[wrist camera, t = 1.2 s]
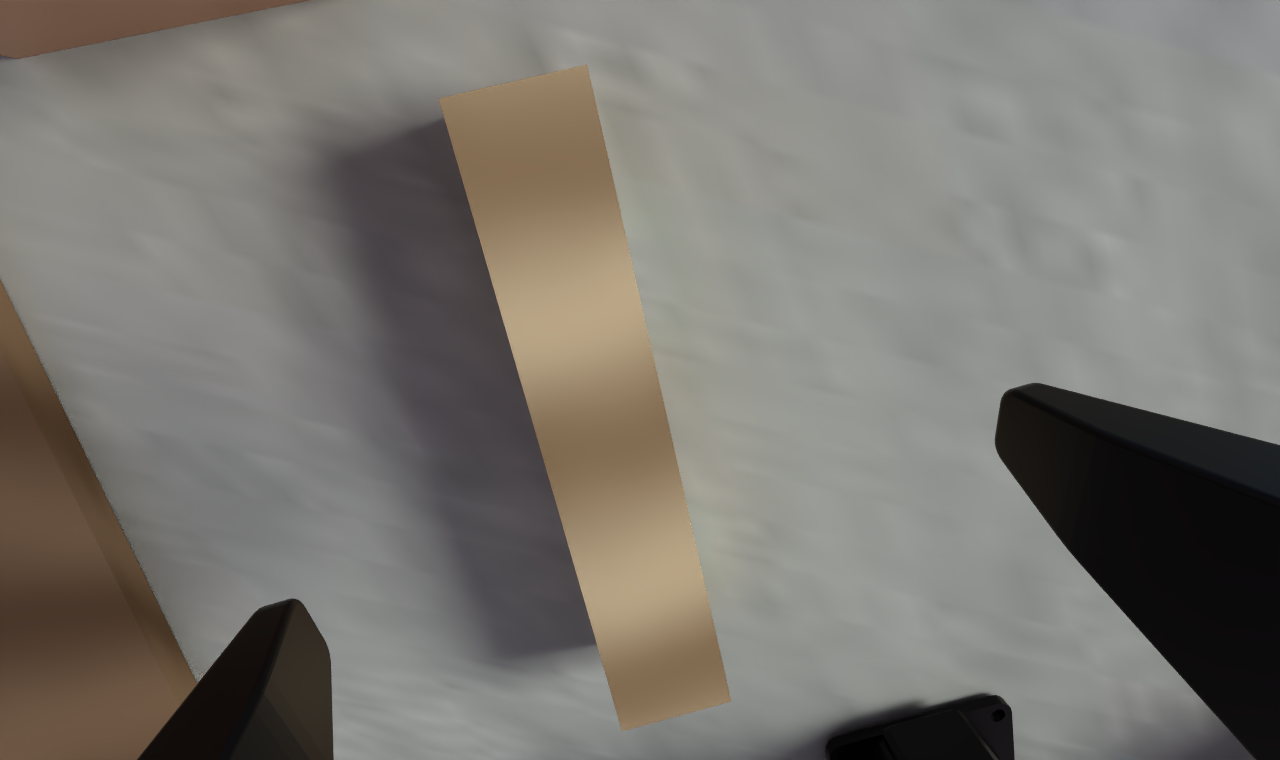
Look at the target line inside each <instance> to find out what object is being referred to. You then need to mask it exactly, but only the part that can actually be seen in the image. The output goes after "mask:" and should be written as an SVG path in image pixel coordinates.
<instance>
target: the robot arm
mask: <svg viewBox="0 0 1280 760" xmlns="http://www.w3.org/2000/svg"><path fill="white" fill-rule="evenodd" d="M995 446H996V450H997V453H998V455H999V457H1000V458H1001V460H1002V461H1003V463H1004V464H1005V465H1006V467H1007V468H1008V470H1009V471H1010V472H1011V474H1012V475H1013V476H1014V478H1015V479H1016V480H1017V482H1018V483H1019V485H1020V486H1021V487H1022V489H1023V490H1024V491H1025V493H1026V494H1027V495H1028V497H1029V498H1030V500H1031V501H1032V502H1033V504H1034V505H1035V506H1036V508H1037V509H1038V510H1039V512H1040V513H1041V515H1042V516H1043V517H1044V519H1045V520H1046V521H1047V523H1048V524H1049V525H1050V527H1051V528H1052V530H1053V531H1054V532H1055V534H1056V535H1057V536H1058V537H1059V539H1060V540H1061V541H1062V543H1063V544H1064V545H1065V546H1066V548H1067V549H1068V550H1069V551H1070V553H1071V554H1072V555H1073V556H1074V557H1075V558H1076V560H1077V561H1078V562H1079V563H1080V564H1081V565H1082V567H1083V568H1084V569H1085V570H1086V571H1087V572H1088V573H1089V574H1090V575H1091V577H1092V578H1093V579H1094V580H1095V581H1096V582H1097V583H1098V584H1099V586H1100V587H1101V588H1102V589H1103V590H1104V591H1105V592H1106V593H1107V594H1108V596H1109V597H1110V598H1111V599H1112V600H1113V601H1114V602H1115V603H1116V604H1117V606H1118V607H1119V608H1120V609H1121V610H1122V611H1123V612H1124V613H1125V614H1126V616H1127V617H1128V618H1129V619H1130V620H1131V621H1132V622H1133V623H1134V625H1135V626H1136V627H1137V628H1138V629H1139V630H1140V631H1141V632H1142V633H1143V635H1144V636H1145V637H1146V638H1147V639H1148V640H1149V641H1150V642H1151V643H1152V645H1153V646H1154V647H1155V648H1156V649H1157V650H1158V651H1159V652H1160V653H1161V655H1162V656H1163V657H1164V658H1165V659H1166V660H1167V661H1168V662H1169V664H1170V665H1171V666H1172V667H1173V668H1174V669H1175V670H1176V671H1177V672H1178V674H1179V675H1180V676H1181V677H1182V678H1183V679H1184V680H1185V681H1186V682H1187V684H1188V685H1189V686H1190V687H1191V688H1192V689H1193V690H1194V691H1195V692H1196V694H1197V695H1198V696H1199V697H1200V698H1201V699H1202V700H1203V701H1204V703H1205V704H1206V705H1207V706H1208V707H1209V708H1210V709H1211V710H1212V711H1213V713H1214V714H1215V715H1216V716H1217V717H1218V718H1219V719H1220V720H1221V721H1222V723H1223V724H1224V725H1225V726H1226V727H1227V728H1228V729H1229V730H1230V731H1231V733H1232V734H1233V735H1234V736H1235V737H1236V738H1237V739H1238V740H1239V742H1240V743H1241V744H1242V745H1243V746H1244V747H1245V748H1246V749H1247V750H1248V752H1249V753H1250V754H1251V755H1252V756H1253V757H1254V758H1255V759H1256V760H1280V445H1277V444H1273V443H1269V442H1265V441H1262V440H1258V439H1254V438H1250V437H1246V436H1242V435H1238V434H1234V433H1231V432H1227V431H1223V430H1219V429H1215V428H1211V427H1207V426H1203V425H1200V424H1196V423H1192V422H1188V421H1184V420H1180V419H1176V418H1172V417H1169V416H1165V415H1161V414H1157V413H1153V412H1149V411H1145V410H1141V409H1138V408H1134V407H1130V406H1126V405H1122V404H1118V403H1114V402H1111V401H1107V400H1103V399H1099V398H1095V397H1091V396H1087V395H1083V394H1080V393H1076V392H1072V391H1068V390H1064V389H1060V388H1056V387H1052V386H1049V385H1045V384H1041V383H1030V384H1026V385H1023V386H1019V387H1016V388H1013V389H1010V390H1008V391H1006V392H1005V393H1004V395H1003V396H1002V398H1001V402H1000V408H999V415H998V421H997V428H996V434H995ZM994 711H995V712H994ZM841 751H844V752H842V753H839V752H841ZM825 753H826V759H827V760H1014V742H1013V723H1012V711H1011V708H1010V706H1009V705H1008V704H1007V703H1006V702H1005V701H1004V699H1003V698H1001V697H1000V696H997V695H992V696H987V697H983V698H980V699H976V700H972V701H968V702H964V703H961V704H957V705H953V706H949V707H946V708H942V709H938V710H934V711H930V712H927V713H923V714H919V715H915V716H911V717H908V718H904V719H900V720H896V721H893V722H889V723H885V724H881V725H877V726H874V727H870V728H866V729H862V730H858V731H855V732H851V733H847V734H843V735H840V736H836V737H834V738H832V739H831V740H830V741H829V742H828V743H827V745H826V747H825ZM137 760H334V758H333V721H332V684H331V659H330V653H329V649H328V647H327V644H326V642H325V640H324V638H323V637H322V635H321V633H320V631H319V630H318V628H317V626H316V625H315V623H314V621H313V620H312V618H311V616H310V614H309V613H308V611H307V609H306V608H305V606H304V605H303V603H302V602H301V601H299V600H298V599H287V600H284V601H281V602H277V603H274V604H270V605H267V606H264V607H262V608H259V609H258V610H257V611H256V612H255V613H254V614H253V615H252V616H251V618H250V619H249V620H248V621H247V623H246V624H245V625H244V626H243V628H242V629H241V630H240V631H239V633H238V634H237V635H236V636H235V638H234V639H233V640H232V641H231V643H230V644H229V645H228V646H227V648H226V649H225V650H224V651H223V653H222V654H221V655H220V656H219V658H218V659H217V660H216V661H215V663H214V664H213V665H212V666H211V668H210V669H209V670H208V671H207V673H206V674H205V675H204V676H203V678H202V679H201V680H200V681H199V683H198V684H197V685H196V686H195V688H194V689H193V690H192V691H191V693H190V694H189V695H188V696H187V698H186V699H185V700H184V701H183V703H182V704H181V705H180V706H179V708H178V709H177V710H176V711H175V713H174V714H173V715H172V716H171V718H170V719H169V720H168V721H167V723H166V724H165V725H164V726H163V728H162V729H161V730H160V731H159V733H158V734H157V735H156V736H155V738H154V739H153V740H152V741H151V743H150V744H149V745H148V746H147V748H146V749H145V750H144V751H143V753H142V754H141V755H140V756H139V758H138V759H137Z"/></svg>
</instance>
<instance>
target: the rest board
mask: <svg viewBox="0 0 1280 760" xmlns="http://www.w3.org/2000/svg"><path fill="white" fill-rule="evenodd" d="M196 685H197V682H196V680H195V678H194V676H193V674H192V672H191V670H190V668H189V666H188V664H187V662H186V660H185V658H184V656H183V654H182V652H181V650H180V648H179V645H178V643H177V641H176V639H175V637H174V635H173V633H172V631H171V629H170V627H169V625H168V623H167V621H166V619H165V617H164V615H163V613H162V611H161V609H160V606H159V604H158V602H157V600H156V598H155V596H154V594H153V592H152V590H151V588H150V586H149V584H148V582H147V580H146V578H145V576H144V574H143V572H142V570H141V568H140V565H139V563H138V561H137V559H136V557H135V555H134V553H133V551H132V549H131V547H130V545H129V543H128V541H127V539H126V537H125V535H124V533H123V531H122V529H121V526H120V524H119V522H118V520H117V518H116V516H115V514H114V512H113V510H112V508H111V506H110V504H109V502H108V500H107V498H106V496H105V494H104V492H103V490H102V487H101V485H100V483H99V481H98V479H97V477H96V475H95V473H94V471H93V469H92V467H91V465H90V463H89V461H88V459H87V457H86V455H85V453H84V451H83V449H82V446H81V444H80V442H79V440H78V438H77V436H76V434H75V432H74V430H73V428H72V426H71V424H70V422H69V420H68V418H67V416H66V414H65V412H64V410H63V407H62V405H61V403H60V401H59V399H58V397H57V395H56V393H55V391H54V389H53V387H52V385H51V383H50V381H49V379H48V377H47V375H46V373H45V371H44V368H43V366H42V364H41V362H40V360H39V358H38V356H37V354H36V352H35V350H34V348H33V346H32V344H31V342H30V340H29V338H28V336H27V334H26V332H25V330H24V327H23V325H22V323H21V321H20V319H19V317H18V315H17V313H16V311H15V309H14V307H13V305H12V303H11V301H10V299H9V297H8V295H7V293H6V291H5V288H4V286H3V284H2V282H1V280H0V760H137V759H138V758H139V756H140V755H141V754H142V753H143V751H144V750H145V749H146V748H147V746H148V745H149V744H150V743H151V741H152V740H153V739H154V738H155V736H156V735H157V734H158V733H159V731H160V730H161V729H162V728H163V726H164V725H165V724H166V723H167V721H168V720H169V719H170V718H171V716H172V715H173V714H174V713H175V711H176V710H177V709H178V708H179V706H180V705H181V704H182V703H183V701H184V700H185V699H186V698H187V696H188V695H189V694H190V693H191V691H192V690H193V689H194V688H195V686H196Z"/></svg>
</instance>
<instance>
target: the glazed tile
mask: <svg viewBox="0 0 1280 760" xmlns="http://www.w3.org/2000/svg"><path fill="white" fill-rule="evenodd" d="M304 1H309V0H0V55H2V56H7V57H12V58H17V59H20V58H25V57H30V56H35V55H40V54H45V53H50V52H55V51H60V50H65V49H70V48H75V47H80V46H85V45H90V44H95V43H100V42H105V41H110V40H115V39H120V38H125V37H130V36H135V35H140V34H144V33H149V32H154V31H159V30H164V29H169V28H174V27H179V26H184V25H189V24H194V23H199V22H204V21H209V20H214V19H219V18H224V17H229V16H234V15H239V14H244V13H249V12H254V11H259V10H264V9H269V8H274V7H279V6H284V5H289V4H294V3H299V2H304Z"/></svg>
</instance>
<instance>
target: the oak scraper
mask: <svg viewBox="0 0 1280 760" xmlns="http://www.w3.org/2000/svg"><path fill="white" fill-rule="evenodd" d="M439 102H440V105H441V108H442V112H443V115H444V119H445V122H446V126H447V129H448V133H449V136H450V139H451V143H452V146H453V150H454V153H455V157H456V160H457V164H458V167H459V170H460V174H461V177H462V181H463V184H464V188H465V191H466V195H467V198H468V201H469V205H470V208H471V212H472V215H473V219H474V222H475V226H476V229H477V233H478V236H479V239H480V243H481V246H482V250H483V253H484V257H485V260H486V264H487V267H488V270H489V274H490V277H491V281H492V284H493V288H494V291H495V295H496V298H497V301H498V305H499V308H500V312H501V315H502V319H503V322H504V326H505V329H506V332H507V336H508V339H509V343H510V346H511V350H512V353H513V357H514V360H515V363H516V367H517V370H518V374H519V377H520V381H521V384H522V388H523V391H524V395H525V398H526V401H527V405H528V408H529V412H530V415H531V419H532V422H533V426H534V429H535V432H536V436H537V439H538V443H539V446H540V450H541V453H542V457H543V460H544V463H545V467H546V470H547V474H548V477H549V481H550V484H551V488H552V491H553V494H554V498H555V501H556V505H557V508H558V512H559V515H560V519H561V522H562V525H563V529H564V532H565V536H566V539H567V543H568V546H569V550H570V553H571V556H572V560H573V563H574V567H575V570H576V574H577V577H578V581H579V584H580V588H581V591H582V594H583V598H584V601H585V605H586V608H587V612H588V615H589V619H590V622H591V625H592V629H593V632H594V636H595V639H596V643H597V646H598V650H599V653H600V656H601V660H602V663H603V667H604V670H605V674H606V677H607V681H608V684H609V687H610V691H611V694H612V698H613V701H614V705H615V708H616V712H617V715H618V718H619V722H620V725H621V729H622V731H625V730H628V729H632V728H636V727H639V726H643V725H647V724H650V723H654V722H658V721H661V720H665V719H669V718H672V717H676V716H680V715H683V714H687V713H691V712H694V711H698V710H702V709H705V708H709V707H713V706H716V705H720V704H724V703H727V702H731V698H730V694H729V689H728V685H727V680H726V676H725V671H724V667H723V663H722V658H721V654H720V649H719V645H718V641H717V636H716V632H715V627H714V623H713V618H712V614H711V610H710V605H709V601H708V596H707V592H706V588H705V583H704V579H703V574H702V570H701V566H700V561H699V557H698V552H697V548H696V543H695V539H694V535H693V530H692V526H691V521H690V517H689V513H688V508H687V504H686V499H685V495H684V490H683V486H682V482H681V477H680V473H679V468H678V464H677V460H676V455H675V451H674V446H673V442H672V438H671V433H670V429H669V424H668V420H667V415H666V411H665V407H664V402H663V398H662V393H661V389H660V385H659V380H658V376H657V371H656V367H655V362H654V358H653V354H652V349H651V345H650V340H649V336H648V332H647V327H646V323H645V318H644V314H643V310H642V305H641V301H640V296H639V292H638V287H637V283H636V279H635V274H634V270H633V265H632V261H631V257H630V252H629V248H628V243H627V239H626V234H625V230H624V226H623V221H622V217H621V212H620V208H619V204H618V199H617V195H616V190H615V186H614V182H613V177H612V173H611V168H610V164H609V159H608V155H607V151H606V146H605V142H604V137H603V133H602V129H601V124H600V120H599V115H598V111H597V106H596V102H595V98H594V93H593V89H592V84H591V80H590V76H589V71H588V67H587V65H583V66H579V67H574V68H570V69H566V70H561V71H557V72H553V73H548V74H544V75H540V76H535V77H531V78H526V79H522V80H518V81H513V82H509V83H505V84H500V85H496V86H492V87H487V88H483V89H478V90H474V91H470V92H465V93H461V94H457V95H452V96H448V97H443V98H439Z"/></svg>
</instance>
